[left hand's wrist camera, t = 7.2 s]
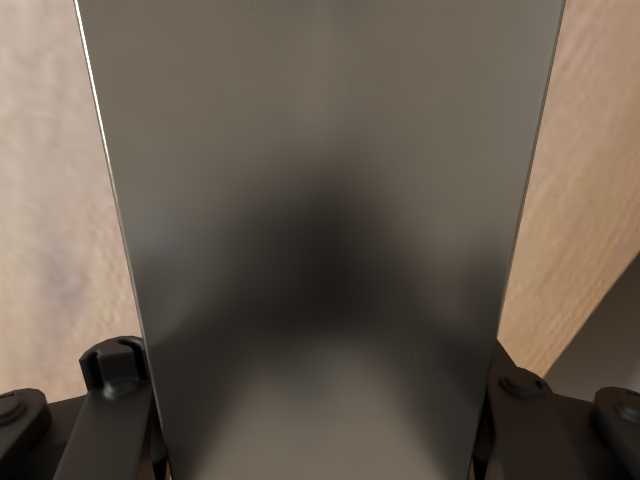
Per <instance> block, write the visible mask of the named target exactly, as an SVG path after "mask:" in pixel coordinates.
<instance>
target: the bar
mask: <svg viewBox="0 0 640 480" xmlns="http://www.w3.org/2000/svg"><path fill="white" fill-rule="evenodd" d="M73 1H74V6H75V11H76V16H77V20H78V25H79V30H80V35H81V40H82V45H83V50H84V55H85V59H86V64H87V69H88V74H89V79H90V84H91V89H92V94H93V98H94V103H95V108H96V113H97V118H98V123H99V128H100V133H101V138H102V142H103V147H104V152H105V157H106V162H107V167H108V172H109V177H110V181H111V186H112V191H113V196H114V201H115V206H116V211H117V216H118V220H119V225H120V230H121V235H122V240H123V245H124V250H125V255H126V259H127V264H128V269H129V274H130V279H131V284H132V289H133V294H134V298H135V303H136V308H137V313H138V318H139V323H140V328H141V333H142V338H143V342H144V347H145V352H146V357H147V362H148V367H149V372H150V377H151V381H152V386H153V391H154V396H155V401H156V406H157V411H158V416H159V420H160V425H161V430H162V435H163V440H164V445H165V450H166V455H167V459H168V464H169V469H170V474H171V479H172V480H468V477H469V472H470V467H471V462H472V457H473V452H474V447H475V442H476V437H477V432H478V428H479V423H480V418H481V413H482V408H483V403H484V398H485V393H486V388H487V384H488V379H489V374H490V369H491V364H492V359H493V354H494V349H495V344H496V340H497V335H498V330H499V325H500V320H501V315H502V310H503V305H504V300H505V295H506V291H507V286H508V281H509V276H510V271H511V266H512V261H513V256H514V251H515V247H516V242H517V237H518V232H519V227H520V222H521V217H522V212H523V207H524V203H525V198H526V193H527V188H528V183H529V178H530V173H531V168H532V163H533V158H534V154H535V149H536V144H537V139H538V134H539V129H540V124H541V119H542V114H543V110H544V105H545V100H546V95H547V90H548V85H549V80H550V75H551V70H552V65H553V61H554V56H555V51H556V46H557V41H558V36H559V31H560V26H561V21H562V17H563V12H564V7H565V2H566V0H73Z"/></svg>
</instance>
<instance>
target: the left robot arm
mask: <svg viewBox="0 0 640 480" xmlns="http://www.w3.org/2000/svg"><path fill="white" fill-rule="evenodd" d="M79 362H80V366H81V369H82V373H83V376H84V380H85V383H86V387H87V390H88V392H87V395H83V396H80V397H76V398H72V399H67V400H63V401H58V402H54V403H50V404H48V403H47V400H46V397H45V394H44V393H42V392H41V391H40V390H38V389H31V388H26V389H19V390H14V391H11V392H8V393H5V394H2V395H0V480H170V469H169V464H168V459H167V455H166V450H165V445H164V440H163V435H162V430H161V425H160V420H159V416H158V411H157V406H156V401H155V396H154V391H153V386H152V381H151V377H150V372H149V367H148V362H147V357H146V352H145V347H144V342H143V339H142V338H140V337H135V336H120V337H116V338H112V339H108V340H105V341H103V342H101V343H98V344H96V345H94V346H93V347H92V348H90V349H89V350H87V351H86V352H85V353H84V354H83V355H82V357H81V358H80V359H79ZM468 480H640V393H638V392H635V391H632V390H629V389H626V388H618V387H605V388H601V389H600V390H598V391H597V392H596V393H595V396H594V399H593V402H589V401H584V400H580V399H575V398H571V397H566V396H562V395H559V394H555V393H553V392H552V390H551V389H550V387H549V386H548V384H547V383H546V382H545V381H544V380H543V379H541V378H540V377H539V376H538V375H536V374H534V373H532V372H530V371H528V370H526V369H524V368H520V367H517V366H516V365H515V363H514V362H513V361H512V359H511V358H510V356H509V355H508V354H507V352H506V351H505V349H504V348H503V347H502V345H501V344H500V342H499V341H498V340H496V344H495V349H494V354H493V359H492V364H491V369H490V374H489V379H488V384H487V388H486V393H485V398H484V403H483V408H482V413H481V418H480V423H479V428H478V432H477V437H476V442H475V447H474V452H473V457H472V462H471V467H470V472H469V477H468Z"/></svg>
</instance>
